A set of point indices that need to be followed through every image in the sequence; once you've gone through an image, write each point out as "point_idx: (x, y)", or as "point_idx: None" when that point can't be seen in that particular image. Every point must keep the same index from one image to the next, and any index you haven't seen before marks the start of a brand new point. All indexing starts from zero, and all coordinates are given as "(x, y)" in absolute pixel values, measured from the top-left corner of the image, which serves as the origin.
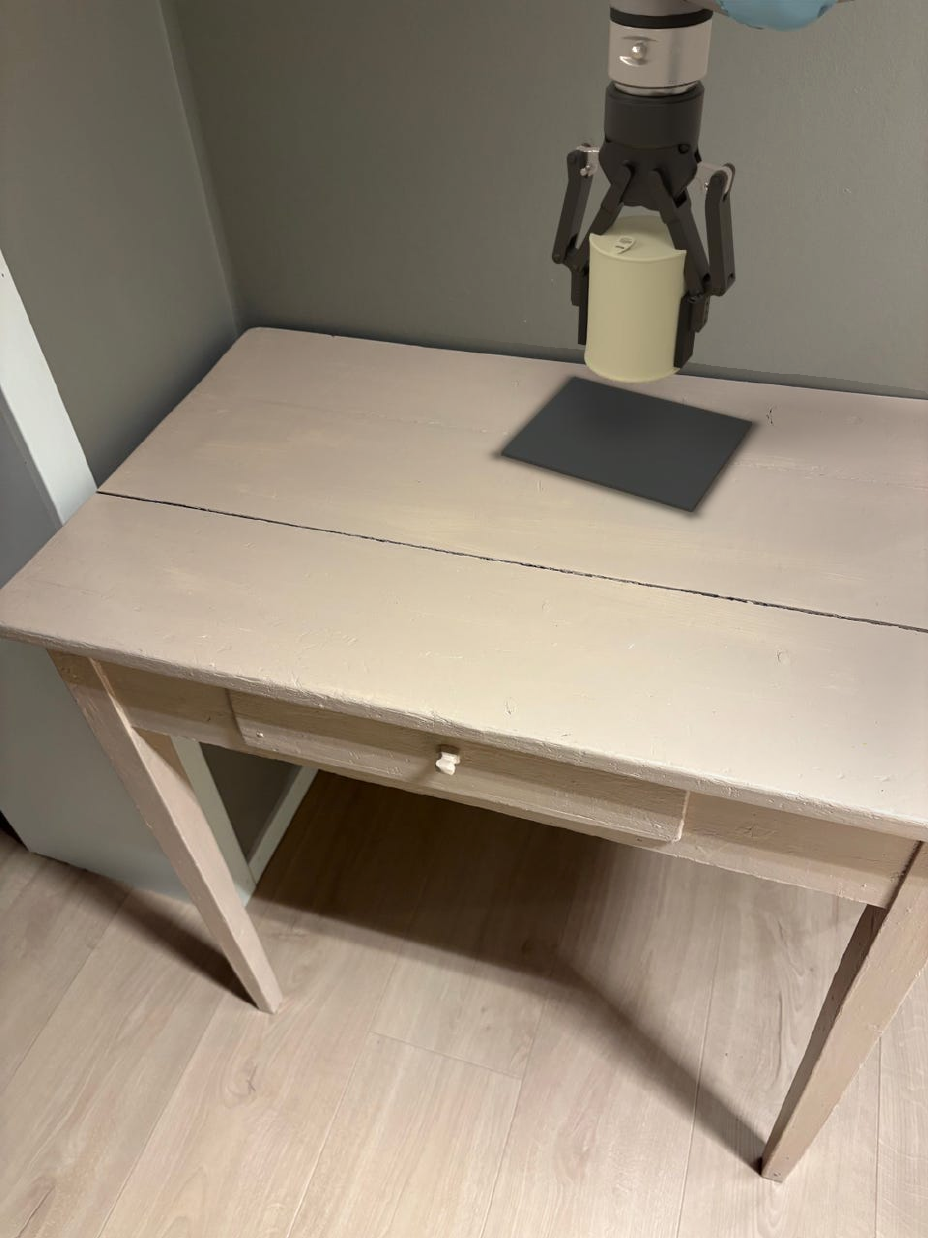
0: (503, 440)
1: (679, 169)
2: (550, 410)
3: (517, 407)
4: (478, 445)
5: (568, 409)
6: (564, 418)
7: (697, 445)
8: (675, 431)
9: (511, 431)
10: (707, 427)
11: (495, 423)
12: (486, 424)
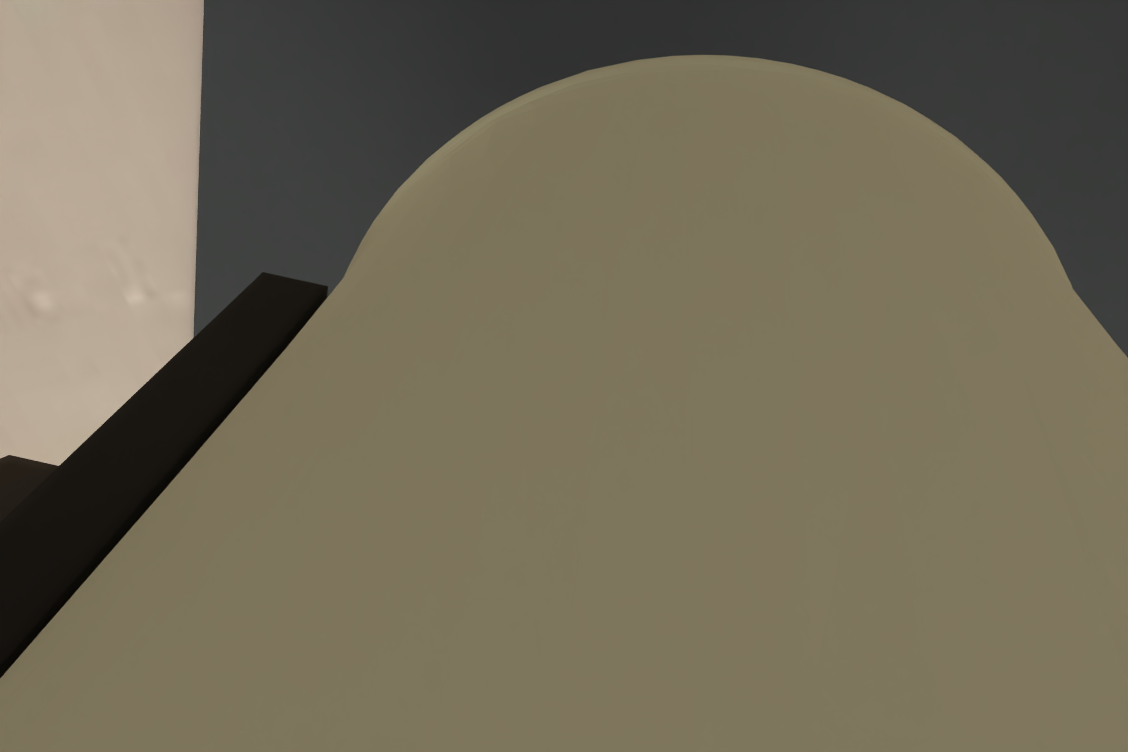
0: (155, 348)
1: None
2: (247, 88)
3: (75, 63)
4: (79, 404)
5: (330, 50)
6: (343, 144)
7: (1064, 216)
8: (940, 117)
9: (152, 275)
10: (1125, 30)
11: (54, 230)
12: (22, 247)
